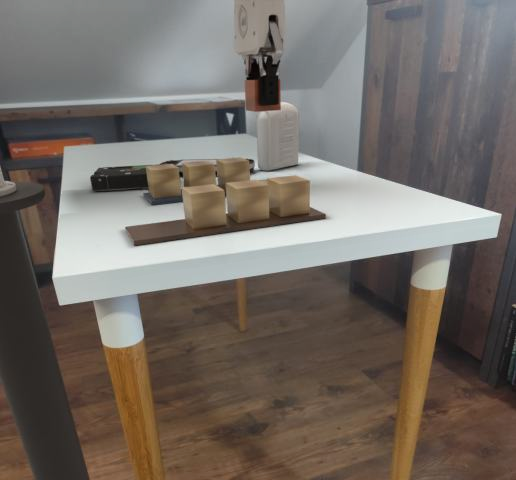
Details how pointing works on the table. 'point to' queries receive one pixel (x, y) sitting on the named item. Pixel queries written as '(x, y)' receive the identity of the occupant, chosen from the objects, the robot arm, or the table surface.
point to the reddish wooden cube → (257, 98)
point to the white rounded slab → (277, 137)
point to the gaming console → (179, 162)
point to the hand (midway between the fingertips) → (262, 103)
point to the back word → (193, 177)
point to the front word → (233, 209)
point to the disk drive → (120, 178)
